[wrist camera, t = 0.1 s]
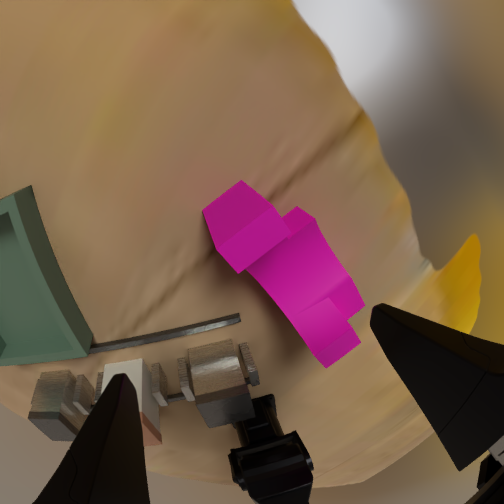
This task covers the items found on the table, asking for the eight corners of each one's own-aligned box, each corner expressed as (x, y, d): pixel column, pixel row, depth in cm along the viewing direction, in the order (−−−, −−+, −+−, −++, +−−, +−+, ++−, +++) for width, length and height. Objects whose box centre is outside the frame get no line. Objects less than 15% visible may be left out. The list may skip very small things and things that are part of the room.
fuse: (157, 384, 28) (162, 444, 21) (122, 389, 27) (120, 447, 20) (142, 357, 26) (142, 422, 19) (104, 364, 25) (97, 426, 18)
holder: (254, 378, 31) (272, 425, 25) (64, 409, 26) (58, 451, 20) (240, 312, 26) (261, 366, 20) (19, 355, 21) (2, 400, 15)
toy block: (341, 281, 28) (383, 324, 22) (294, 318, 29) (326, 368, 22) (266, 160, 21) (309, 177, 14) (201, 209, 21) (216, 249, 15)
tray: (93, 334, 23) (87, 356, 20) (7, 348, 21) (-1, 366, 18) (31, 184, 16) (13, 194, 13) (-52, 228, 14) (-68, 241, 11)
